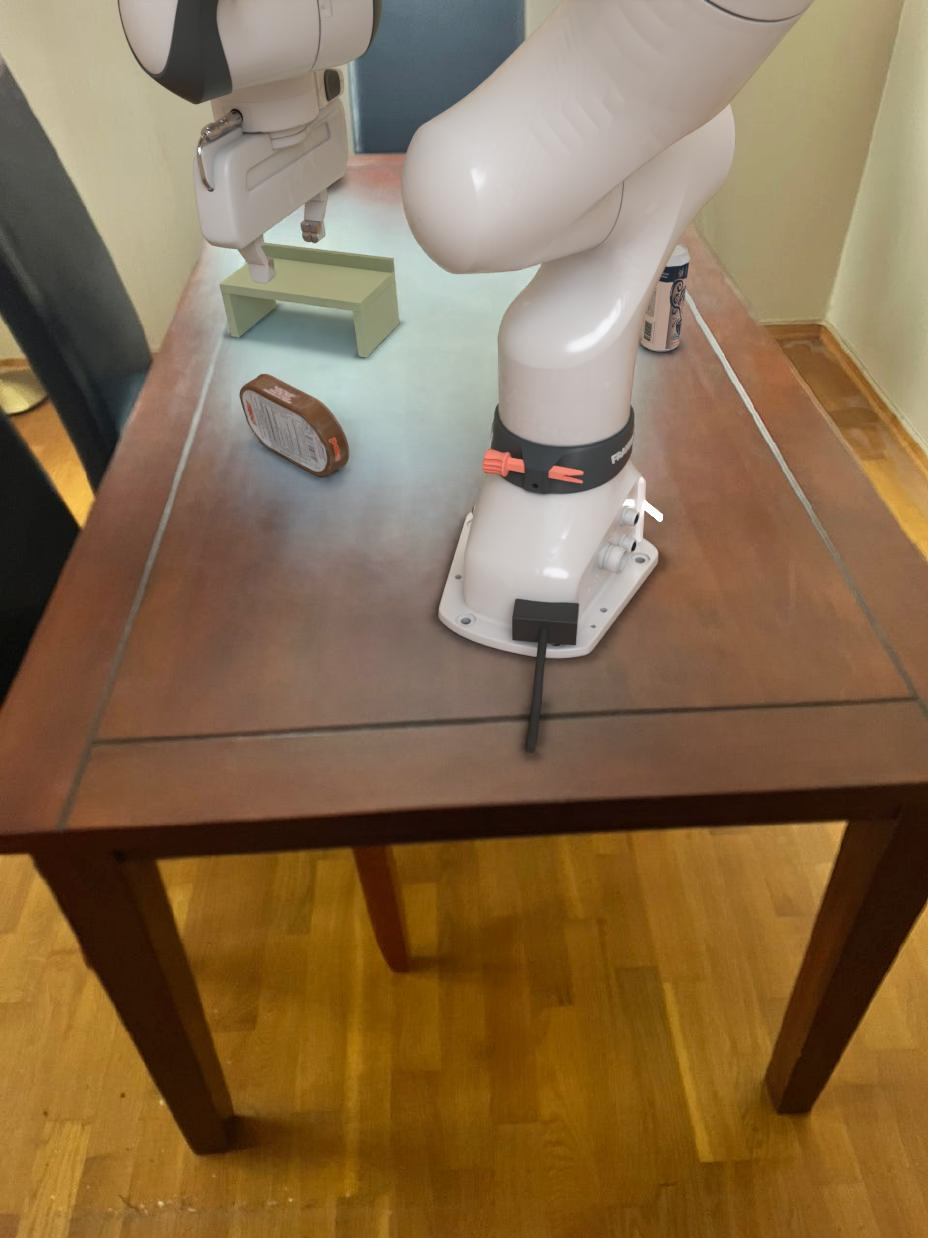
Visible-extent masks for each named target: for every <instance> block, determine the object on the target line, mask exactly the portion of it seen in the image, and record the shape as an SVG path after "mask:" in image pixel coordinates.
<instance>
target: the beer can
mask: <svg viewBox="0 0 928 1238" xmlns="http://www.w3.org/2000/svg"><path fill="white" fill-rule="evenodd" d="M690 262H691V255H690V253H689V250H688V247H687V246H685V245H683V244H682V243H678V244H677V246H676V247H675V249H674V251H673V253H672V255H671V257H670V259H669V261H668V263H667V265H666V267H665V269H664V271H663V273H662V275H661V277H660V280H659V282H658V284H657V286H656V289H655V291H654V293H653V296H652V298H651V301H650V303H649V306H648V309H647V312H646V315H645V317H644V321H643V325H642V329H641V331H642V332H641V337H640V344H641V345H642V346H643V347H644V348H646V349H648V351H652V352H655V353H656V352H657V353H666V352H670V351H672V350H674V349H675V348H677V347H678V346H679V345H680V337H681V328H682V323H683V321H682V320H683V314H684V304H685V298H686V290H687V289H686V288H687V283H688V274H689V266H690Z"/></svg>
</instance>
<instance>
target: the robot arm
mask: <svg viewBox="0 0 928 1238" xmlns="http://www.w3.org/2000/svg"><path fill="white" fill-rule="evenodd" d="M815 1H816V0H560V1H559V3H558V4H557V5H556V6H555V7H554V8H553V10H551V12H550V13H548V15H547V16H546V17H545V18H544V19H543V21H542V22H540V24H539V25H538V26H537V27H536V28H535V29H534V31H532V32H531V33H530V34H529V35H528V36H527V38H526V39H525V40H524V41H522V43H521V44H519V46H518V47H517V48H516V49H515V50H514V51H513V52H512V53H511V54H510V55H509V56H508V57H507V58H506V59H505V60H504V61H503V62H502V63H501V64H500V65H499V66H498V67H497V68H496V69H495V70H494V71H493V72H492V73H491V74H490V75H489V76H488V77H487V78H485V80H484V81H482V82H481V83H480V84H479V85H478V86H477V87H475V88H474V89H473V90H472V91H471V92H469V93H468V94H467V95H466V96H464V97H463V98H462V99H460V100H459V101H457V102H456V103H454V104H453V105H452V106H450V107H449V108H448V109H446V110H444V111H442V112H441V113H439V114H438V115H436V116H434V117H433V118H431V119H430V120H428V121H426V122H425V123H423V124H421V126H419V127H418V128H417V130H416V131H415V132H414V134H413V136H412V138H411V141H410V143H409V145H408V146H407V150H406V153H405V157H404V159H403V164H402V169H401V181H400V191H401V193H400V195H401V202H402V207H403V213H404V216H405V219H406V222H407V226H408V227H409V229H410V232H411V234H412V236H413V238H414V240H415V241H416V243H417V244H418V245H419V247H420V248H421V250H422V251H423V252H424V254H425V255H426V256H427V257H428V258H429V259H430V260H431V261H432V262H433V263H434V264H436V265H437V266H438V267H440V268H441V269H442V270H444V271H445V272H447V273H449V274H452V275H480V274H481V275H484V274H485V275H486V274H498V273H499V274H500V273H511V272H519V271H522V270H525V269H529V268H532V267H535V266H539V265H540V266H539V269H538V270H537V272H536V273H535V274H534V276H533V277H532V279H530V282H528V284H527V285H526V286H525V287H524V288H523V289H522V290H521V291H520V292H519V294H518V295H516V297H515V298H514V299H513V300H512V302H511V303H510V304H508V305H509V306H508V307H507V309H506V310H505V311H504V314H503V316H502V318H501V319H500V320H501V321H500V324H499V327H498V332H497V383H498V384H497V394H498V395H497V397H498V400H497V401H498V402H497V404H496V405H495V409H494V413H493V420H492V424H491V427H490V428H491V429H490V448H488V449H487V450H486V451H485V453H484V455H483V460H482V471H483V475H482V477H481V482H480V485H479V490H478V494H477V498H476V501H475V503H474V505H473V506H472V509H471V511H470V512H468V513H467V514H466V516H465V519H464V521H463V526H462V529H461V532H460V536H459V539H458V542H457V545H456V548H455V552H454V556H453V559H452V561H451V566H450V569H449V571H448V575H447V578H446V582H445V585H444V589H443V591H442V594H441V595H442V596H441V599H440V601H439V606H438V615H437V618H438V619H439V621H440V622H441V623H442V624H443V625H444V626H445V627H447V628H448V629H449V630H450V631H452V632H454V633H455V634H457V635H459V636H461V637H463V638H465V639H467V640H470V641H472V642H474V643H477V644H480V645H483V646H486V647H489V648H492V649H493V648H494V649H496V650H499V651H503V652H507V653H512V654H516V655H522V656H527V657H533V658H534V657H535V658H536V659H535V666H534V676H533V687H532V689H533V690H532V703H531V710H530V716H529V717H530V718H529V725H528V730H527V737H526V743H525V751H526V752H527V753H534V752H535V751H536V747H537V739H538V733H539V724H540V719H541V712H542V711H541V710H542V700H543V689H544V675H545V666H546V665H545V664H546V659H570V658H577V657H583V656H587V655H589V654H591V652H592V651H594V649H595V648H596V647H597V645H598V644H599V643H600V641H601V640H602V639H603V637H604V636H605V635H606V633H607V632H608V631H609V629H610V628H611V626H612V625H613V624H614V623H615V622H616V620H617V618H618V617H619V616H620V615H621V613H622V612H623V610H624V609H625V608H626V607H627V605H628V604H629V603H630V602H631V600H632V599H633V598H634V596H635V594H636V593H637V592H638V590H639V589H640V588H641V587H642V586H643V584H644V583H645V581H646V580H647V579H648V577H649V576H650V575H651V573H653V570H654V569H655V568H656V566H657V565H658V564H659V550H658V549H657V548H656V546H655V545H654V544H653V543H651V542H650V541H649V540H647V539H646V538H645V537H644V527H645V526H644V525H645V524H644V523H645V511H646V512H647V513H648V514H649V515H651V516H652V517H654V518H655V519H656V521H658V522H662V521H663V516H664V515H663V513H661V512H660V511H659V510H658V509H656V508H655V507H654V506H652V505H651V504H650V503H648V501H647V500H646V489H647V481H646V478H644V476H643V474H642V473H641V472H640V470H638V468H637V467H636V464H635V463H634V461H633V459H632V457H631V456H632V452H633V447H634V441H635V435H636V423H635V410H634V407H633V406H632V396H633V388H634V387H633V386H634V381H635V380H634V379H635V373H636V371H635V370H636V365H637V364H636V363H637V355H638V349H639V342H640V338H641V333H642V332H641V331H642V329H643V321H644V317H645V315H646V312H647V309H648V306H649V303H650V301H651V298H652V296H653V293H654V291H655V289H656V286H657V284H658V282H659V280H660V277H661V275H662V273H663V271H664V269H665V267H666V265H667V263H668V261H669V259H670V257H671V255H672V253H673V251H674V249H675V247H676V246H677V244H679V242H680V241H681V239H682V238H683V236H684V234H685V232H686V231H687V230H688V228H689V227H690V225H691V224H692V222H693V221H694V219H696V218H697V216H698V215H699V213H700V212H701V211H702V210H703V209H704V208H705V207H706V206H707V205H708V204H709V202H710V201H711V200H712V199H713V198H714V197H715V196H716V195H718V193H719V192H720V190H721V189H722V188H723V186H724V185H725V183H726V182H727V179H728V177H729V174H730V173H731V170H732V169H731V168H732V166H733V161H734V158H735V152H736V141H737V140H736V137H737V133H736V122H735V115H734V111H733V108H732V105H731V103H732V101H734V99H735V98H736V97H737V96H738V94H739V93H740V92H741V91H742V89H743V88H744V87H745V86H746V84H747V83H749V81H750V79H751V78H752V77H753V76H754V75H755V74H756V72H757V71H759V70H760V67H761V66H762V65H763V64H764V63H765V61H766V60H767V59H768V58H769V57H770V55H771V54H772V53H773V52H774V51H775V49H776V48H777V47H778V46H779V44H780V43H781V42H782V41H783V40H784V38H785V37H786V36H787V35H788V34H789V33H790V32H791V30H792V29H793V28H794V27H795V26H796V24H797V23H798V22H799V21H800V20H801V18H802V17H803V16H804V15H805V13H806V12H807V11H808V10H809V8H810V7H811V6H812V5H813V4H814V2H815ZM117 8H118V13H119V18H120V23H121V28H122V30H123V34H124V37H125V39H126V42H127V44H128V47H129V49H130V52H131V54H132V55H133V57H134V59H135V61H136V62H137V64H138V65H139V67H140V68H141V70H142V71H143V72H145V74H146V75H148V76H149V77H150V78H151V79H152V80H154V81H155V82H156V83H158V84H159V86H161V87H163V88H164V89H166V90H167V91H169V92H171V93H172V94H173V95H175V96H177V97H178V98H180V99H182V100H184V101H187V102H189V103H190V104H193V105H200V104H203V103H207V102H210V106H211V112H212V116H213V122H209V123H207V124H205V125H204V126H203V127H202V128H201V129H200V137H199V139H198V141H197V146H196V147H195V148H194V156H193V162H192V177H193V178H192V179H193V187H194V196H195V203H196V208H197V209H196V211H197V216H198V217H197V218H198V222H199V228H200V232H201V235H202V237H203V238H204V239H205V240H206V241H207V243H208V244H210V246H213V247H218V248H223V249H230V250H237V251H238V253H239V255H241V257H242V258H243V260H244V261H245V262H246V264H247V263H248V266H249V271H250V276H251V279H252V280H253V281H254V282H257V283H263V284H266V283H267V282H269V281H270V280H271V279H272V278H274V277H275V275H276V271H275V269H274V267H275V265H274V260H273V258H267V257H266V255H265V254H264V252H263V250H262V248H261V246H263V245H264V243H265V237H264V234H265V233H266V232H268V231H269V230H271V229H272V228H274V227H275V226H276V225H278V224H279V223H280V222H282V221H283V220H284V219H286V218H287V217H289V216H290V215H291V214H293V213H294V212H296V211H297V210H299V208H301V207H302V206H304V211H303V220H302V221H301V222H300V223H299V225H300V230H301V237H302V239H303V241H304V242H305V243H312V244H317V243H319V242H320V241H322V240H323V239H324V238H325V237H326V227H325V217H326V211H327V205H328V200H329V194H328V188H329V187H330V186H331V185H333V184H334V183H335V182H337V181H338V180H340V179H341V178H342V177H344V175H345V174H346V172H347V168H348V167H347V166H348V162H349V142H348V130H347V129H348V128H347V121H346V113H345V112H346V111H345V108H344V104H343V101H342V100H341V98H340V97H341V96H342V95H343V94H344V92H345V79H344V78H345V77H344V72H343V70H342V68H340V66H343V65H347V64H350V63H351V62H353V61H354V60H355V61H356V60H357V59H361V58H362V57H364V56H365V55H366V54H367V52H368V51H369V49H370V48H371V46H372V44H373V43H374V41H375V39H376V36H377V33H378V31H379V27H380V23H381V16H382V10H383V0H117Z"/></svg>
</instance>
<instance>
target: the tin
mask: <svg viewBox="0 0 928 1238" xmlns="http://www.w3.org/2000/svg"><path fill="white" fill-rule="evenodd" d="M238 394H239V395H238V396H239V399H240V404H241V407H242V411H243V414H244V416H245V420H246V423H247V425H248V427H249V428H250V430H251V432H252V433H253V434H254V435H255V437H256V438H257V439H258V440H259V442H261V444H263V446H265V447H266V448H267V449H269V450H270V451H272V452H274V453H276V454H277V455H279V456H281V457H282V458H284V459H286V460H288V461H289V462H291V463H293V464H295V465H296V466H298V467H300V468H301V469H303V470H305V471H307V472H309V473H310V474H312V475H314V476H316V477H326V476H328V475H330V474H332V473H333V472H335V471H336V470H338V469H340V468H343V467H345V466H346V465H347V464H348V461H349V458H350V447H349V446H350V445H349V443H348V439H347V436H346V434H345V431H344V429H343V427H342V426H341V424H340V422H339V420H338V419H337V417H336V416H335V415H334V413H333V412H332V411H331V410H330V408H329V407H327V405H325V403H323V402H322V401H321V400H320V399H318V398H316V397H314V396H312V395H311V394H308V393H306V392H305V391H303V390H300V389H299V388H296V387H295V386H292V385H291V384H289V383H286V382H285V381H283V380H280V379H279V378H277V377H275V376H273V375H272V374H269V373H260V374H258V375H257V376H256V377H255V378H253V379H252V380H250V381H248V382H246V383H245V384H244V385H243V386H241V388H240V390H239V393H238Z"/></svg>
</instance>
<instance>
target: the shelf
mask: <svg viewBox="0 0 928 1238" xmlns="http://www.w3.org/2000/svg"><path fill="white" fill-rule="evenodd" d="M261 248H262V250H263V252H264V254H265V255H266V257H267V258H273V260H274V265H275V267H274V269H275V271H276V275H275V277H274V278H272V279H271V280H270V281H269V282H267V283H266V284H263V283H257V282H254V281H253V280H252V279H251V276H250V271H249V266H248V263H247V262H246V263H245V264H244V265H243V266H241V267H240V268H239V269H237V270H235V272H233V273H232V274H231V275H229V276H227V278H225V279H224V280H222V281H220V282H219V288H220V292H221V297H222V302H223V307H224V311H225V315H226V320H227V324H228V327H229V328H228V329H229V333H230V337H232V338H237V339H238V338H241V337H242V336H243V335H245V333H246V332H248V331H249V330H250V329H251V328H252V327H254V326H255V325H256V324H257V323H258V322H260V321H261V320H263V318H265V317H266V316H267V315H269V313H271V312H272V311H274V309H276V308H277V307H278V306H277V305H278V304H277V301H280V302H285V303H293V304H299V305H306V306H312V307H313V306H314V307H321V308H328V309H335V310H342V311H350V312H352V317H353V325H354V331H355V340H356V349H357V355H358V357H360V358H364V359H365V358H366V359H367V358H368V357H369V356H370V355H371V354H372V353H373V352H374V351H375V350H377V348H378V347H379V346H380V345H381V344H382V342H383V341H385V339H387V338H388V336H389V335H391V333H393V331H394V330H395V329H396V328H397V327H398V326H399V325H400V315H399V303H398V302H399V301H398V294H397V283H396V271H395V258H394V257H387V256H379V255H370V254H362V253H354V252H346V251H339V250H331V249H330V250H329V249H321V248H315V247H314V248H312V247H305V246H296V245H287V244H280V243H271V242H264V245H263V246H261Z"/></svg>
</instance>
